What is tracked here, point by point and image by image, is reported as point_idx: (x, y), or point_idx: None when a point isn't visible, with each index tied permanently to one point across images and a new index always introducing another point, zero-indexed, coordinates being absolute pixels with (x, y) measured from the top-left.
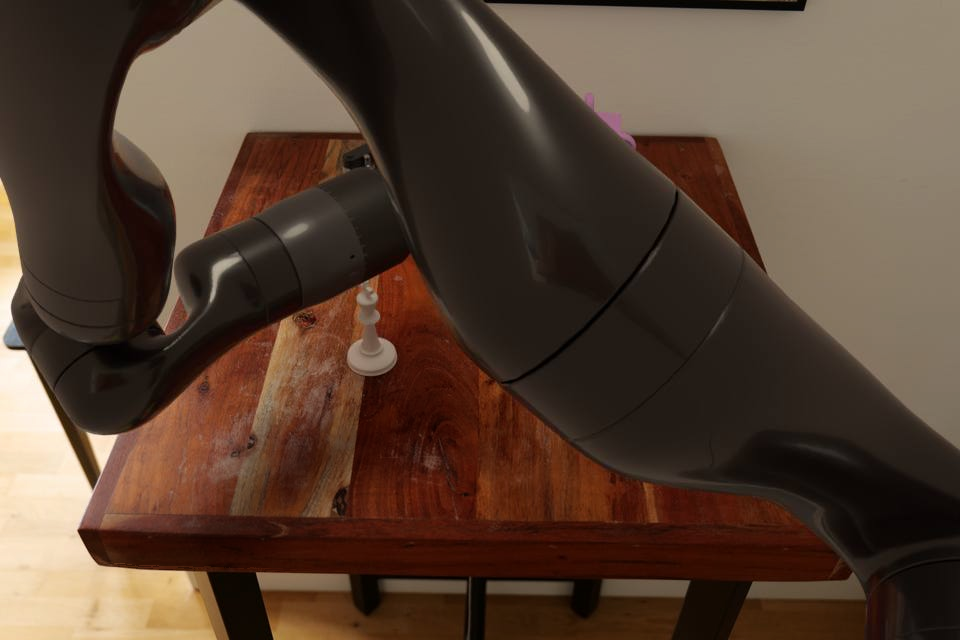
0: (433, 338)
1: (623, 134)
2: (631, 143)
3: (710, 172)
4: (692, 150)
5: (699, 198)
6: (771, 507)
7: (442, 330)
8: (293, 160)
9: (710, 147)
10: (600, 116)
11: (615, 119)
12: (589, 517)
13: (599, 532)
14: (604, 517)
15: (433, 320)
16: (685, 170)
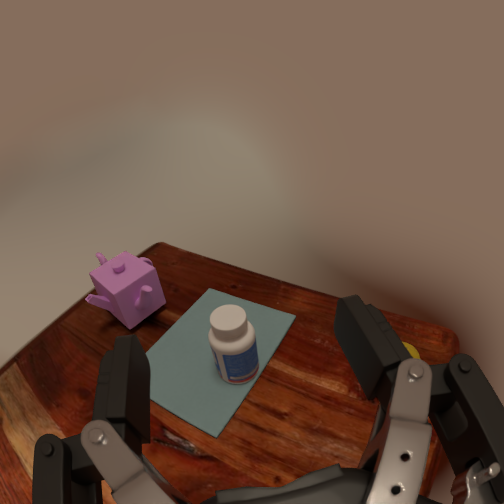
0: (199, 492)
1: (140, 258)
2: (148, 260)
3: (181, 253)
4: (160, 250)
5: (194, 267)
6: (440, 356)
7: (195, 481)
8: None
9: (165, 244)
10: (116, 259)
11: (126, 255)
12: (429, 456)
13: (440, 453)
14: (431, 447)
15: (179, 480)
16: (169, 260)
